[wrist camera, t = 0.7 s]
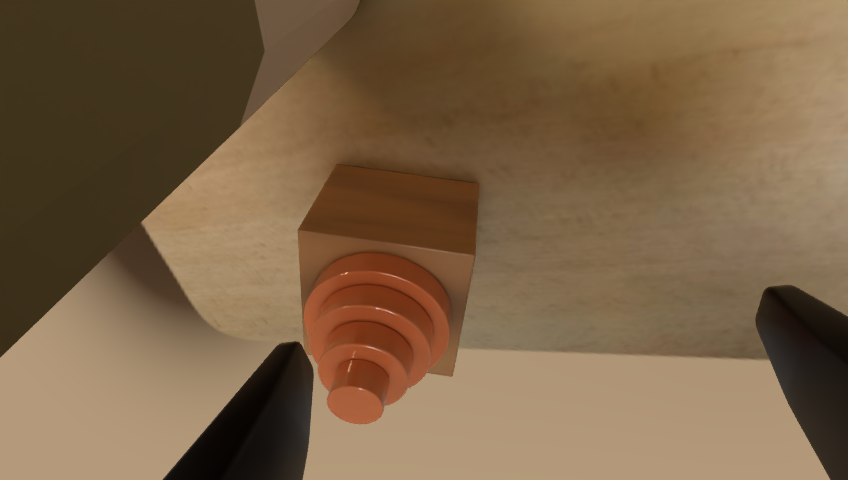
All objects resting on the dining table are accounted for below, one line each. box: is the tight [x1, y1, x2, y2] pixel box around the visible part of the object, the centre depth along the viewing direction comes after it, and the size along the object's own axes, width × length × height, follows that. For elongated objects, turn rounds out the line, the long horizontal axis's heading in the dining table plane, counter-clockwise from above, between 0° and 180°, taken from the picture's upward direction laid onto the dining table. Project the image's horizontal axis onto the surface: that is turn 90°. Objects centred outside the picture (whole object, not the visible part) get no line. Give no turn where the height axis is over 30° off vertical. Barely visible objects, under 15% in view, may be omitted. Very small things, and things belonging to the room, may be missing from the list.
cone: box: [304, 253, 452, 424], centre depth 20 cm, size 6×6×5 cm
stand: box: [298, 164, 479, 377], centre depth 24 cm, size 7×7×6 cm
